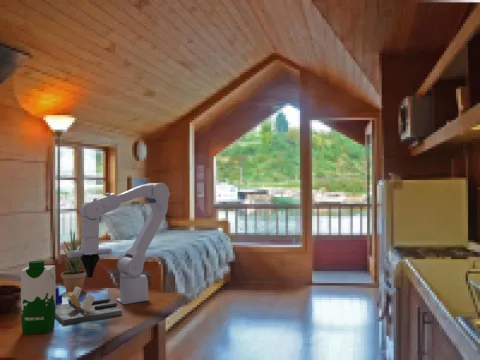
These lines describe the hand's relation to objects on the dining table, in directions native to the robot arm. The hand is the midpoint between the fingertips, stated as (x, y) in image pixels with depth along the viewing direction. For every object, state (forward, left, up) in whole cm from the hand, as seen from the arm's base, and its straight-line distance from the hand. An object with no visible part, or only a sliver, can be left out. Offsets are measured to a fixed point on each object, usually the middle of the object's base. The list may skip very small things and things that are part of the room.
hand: (89, 277), depth 158 cm
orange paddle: (+5, +6, -8) cm, 11 cm away
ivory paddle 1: (+5, -1, -8) cm, 10 cm away
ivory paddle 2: (+5, +13, -8) cm, 16 cm away
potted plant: (-3, -29, -11) cm, 31 cm away
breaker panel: (+3, +6, -10) cm, 12 cm away
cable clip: (+11, -16, -11) cm, 22 cm away
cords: (-2, +6, -9) cm, 11 cm away
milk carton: (+19, +16, -11) cm, 27 cm away
